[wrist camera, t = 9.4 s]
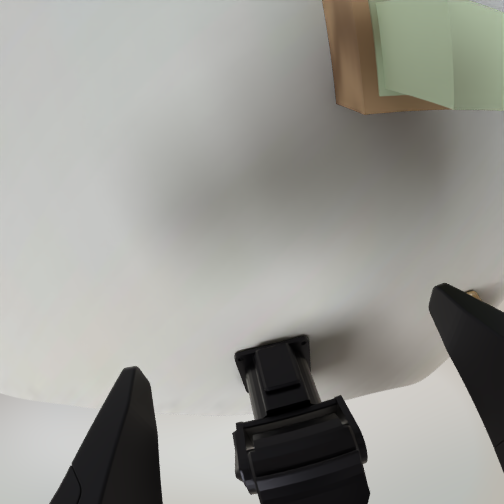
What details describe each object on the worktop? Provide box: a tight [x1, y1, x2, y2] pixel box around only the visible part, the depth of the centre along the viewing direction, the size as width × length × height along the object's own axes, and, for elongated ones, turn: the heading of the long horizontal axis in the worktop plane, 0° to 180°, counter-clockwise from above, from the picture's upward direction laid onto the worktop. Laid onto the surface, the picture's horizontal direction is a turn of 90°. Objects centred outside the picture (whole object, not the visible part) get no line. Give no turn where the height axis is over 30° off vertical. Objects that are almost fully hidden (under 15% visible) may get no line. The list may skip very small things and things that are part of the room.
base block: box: [322, 0, 450, 115], centre depth 14 cm, size 7×7×4 cm
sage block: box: [376, 0, 504, 111], centre depth 10 cm, size 4×4×5 cm
